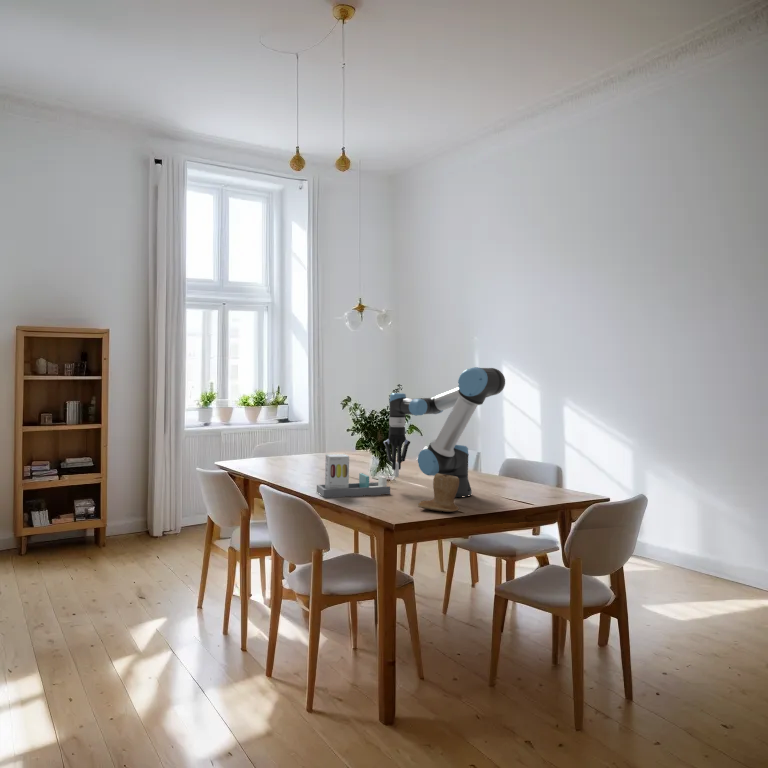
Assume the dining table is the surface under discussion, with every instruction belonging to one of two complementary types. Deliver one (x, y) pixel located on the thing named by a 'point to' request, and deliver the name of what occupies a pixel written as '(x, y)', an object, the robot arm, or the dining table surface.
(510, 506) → the dining table surface
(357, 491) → the grey tray
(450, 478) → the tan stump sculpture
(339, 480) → the supplement box
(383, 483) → the pusher
